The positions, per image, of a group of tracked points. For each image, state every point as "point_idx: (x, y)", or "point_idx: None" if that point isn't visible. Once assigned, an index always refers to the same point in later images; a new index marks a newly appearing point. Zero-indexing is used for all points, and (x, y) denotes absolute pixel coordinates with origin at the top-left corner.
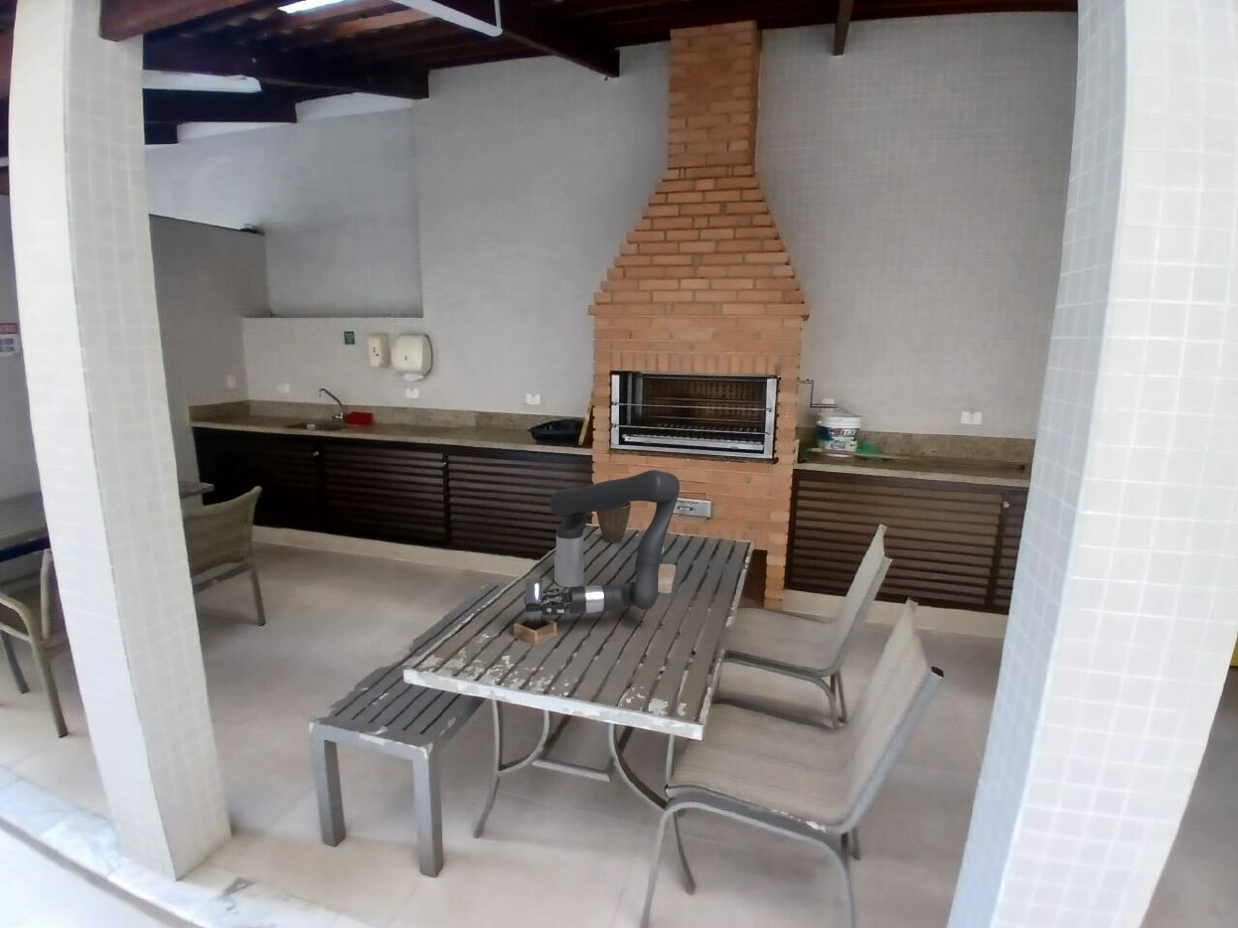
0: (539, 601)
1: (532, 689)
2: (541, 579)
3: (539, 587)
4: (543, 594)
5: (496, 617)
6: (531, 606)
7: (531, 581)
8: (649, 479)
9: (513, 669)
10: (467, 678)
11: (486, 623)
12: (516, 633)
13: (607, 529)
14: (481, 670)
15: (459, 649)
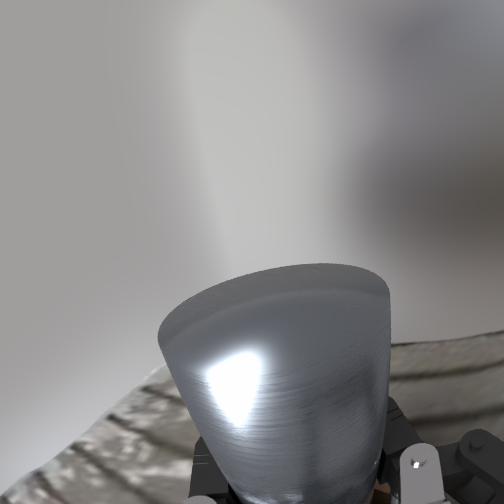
0: (238, 494)
1: (23, 487)
2: (335, 345)
3: (188, 405)
4: (424, 485)
5: (455, 374)
6: (194, 454)
7: (255, 293)
8: None
9: (111, 479)
10: (123, 404)
11: (411, 373)
12: None
13: None
14: (140, 423)
15: None
